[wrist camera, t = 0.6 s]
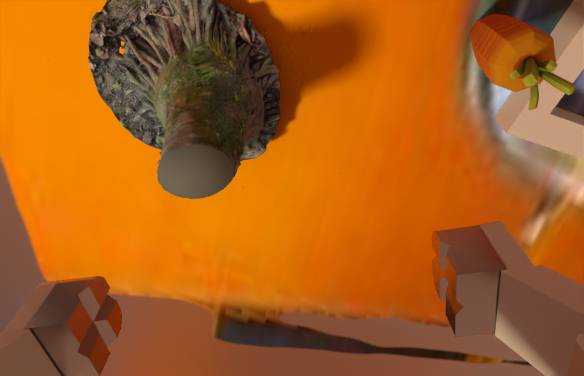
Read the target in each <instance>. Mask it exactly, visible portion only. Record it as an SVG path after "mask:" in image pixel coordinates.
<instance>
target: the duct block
mask: <svg viewBox="0 0 584 376" xmlns="http://www.w3.org/2000/svg"><path fill="white" fill-rule="evenodd" d="M550 36H551V37H552V38H553V40H554V49H555V57H556V63H557V64H558V65H557V67H556V69H555V70H554V71H553V72H551V73H553V74H555V75H557V76H559V77H561V78H563V79H565V80H567V81H569V82H571V83H573V82H574V81H575V80H576V78H577V77H578V76H579V74H580V73H581V72H582V70H583V69H584V0H573V1H572V3H571V4H570V6H569V7H568V9H567V10H566V12H565V13H564V15H563V16H562V18H561V19H560V21H559V22H558V24H557V25H556V27H555V28H554V30H553V31H552V33H551V34H550ZM538 90H539V101H538V106H537V108H536V109H534V110H528V109H529V103H530V88H527V89H524V90H521V91H519V92H514V91H512V92H511V93H510V95H509V96H508V98H507V99H506V101H505V102H504V104H503V105H502V107H501V108H500V110H499V111H498V113H497V114H496V116H495V117H494V118H495V120H496V121H497V122H498V124H499V125H500V126H501V127H502V129H503V130H504V131H505V132H506V133H507V134H510V135H513V136H516V137H519V138H522V139H525V140H528V141H531V142H534V143H537V144H540V145H543V146H546V147H549V148H552V149H555V150H558V151H561V152H564V153H567V154H570V155H573V156H576V157H579V158H582V159H584V117H583V116H580V115H578V114H575V113H572V112H569V111H566V110H563V109H561V108H558V107H555V106H556V105H557V104H558V102H559V101H560V100H561V98H562V97H563V96H564V94H565V93H563V92H561V91H560V90H558V89H556V88H555V87H553V86H552V85H551V84H549V83H548V82H546V81H545V80H544V79H543V81H542V82H541V83H540V84H538Z"/></svg>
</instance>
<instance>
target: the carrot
mask: <svg viewBox="0 0 584 376" xmlns="http://www.w3.org/2000/svg"><path fill="white" fill-rule="evenodd" d="M470 38H471V42H472V47H473V51H474V54H475V57H476V60H477V62H478V65H479V66H480V68H481V69H482V70H483V72H484V73H485V75H486V76H487V77H488V78H489V79H490V81H491V82H492V83H494V84H496V85H498V86H501V87H503V88H506V89H508V90H511V91H514V92H519V91H521V90H524V89H527V88H530V103H529V109H528V110H534V109H536V108H537V106H538V101H539V90H538V84H540V83H541V82H542V81H543V79H544V80H545V81H546V82H548V83H549V84H551V85H552V86H553V87H555V88H556V89H558V90H560V91H561V92H563V93H565V94H567V95H571V94H572V93H573V92H574V90H575V85H574V84H573V83H571V82H569V81H567V80H565V79H563V78H561V77H559V76H557V75H555V74H553V73H551V72H553V71H554V70H555V69H556V67H557V65H558V64H557V63H556V57H555V49H554V40H553V38H552V37H551V36H550V35H548V34H546V33H545V32H543V31H541V30H539V29H537V28H535V27H533V26H531V25H529V24H527V23H525V22H522V21H520V20H518V19H515V18H513V17H511V16H507V15H502V14H492V15H488V16H486V17H484V18H481V19H479V20H477V21H476V23H475V24H474V26H473V28H472V29H471V32H470Z"/></svg>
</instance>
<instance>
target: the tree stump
mask: <svg viewBox="0 0 584 376" xmlns="http://www.w3.org/2000/svg"><path fill="white" fill-rule="evenodd" d="M92 20H93V22H92V23H91V28H92V30H91V32H90V38H89V57H88V59H89V64H90V68H91V71H92V74H93V77H94V81H95V84H96V87H97V90H98V92H99V95H100V96H101V98H102V99H103V100H104V102H105V103H106V104H107V105H108V106H109V107H110V108H111V110H112V111H113V113H114V115H115V116H116V118H117V119H118V120H119V121H120V122H121V124H122V125H123V126H124V127H125V128H126V129H127V130H128V131H130V133H131V134H132V135H133V136H134V137H135V138H137V139H139V140H141V141H142V142H144V143H145V144H147V145H150V146H152V147H155V148H158V149H161V150H162V152H160V155H161V160H159V161H158V164H159V166H158V181H159V183H160V184H161V185H162V187H163V189H164V190H166V191H168V192H169V193H171V194H173V195H176V196H179V197H182V198H190V199H198V198H205V197H208V196H211V195H213V194H216V193H217V192H219V191H221V190H223V189H224V188H225V187H226V186H227V185H228V184H229V183H230V182H231V181H232V179H233V177H234V176H235V174H236V172H237V169H238V167H239V166H240V165H241V163H240V161H242V160H248V159H254V158H257V157H258V156H260V155H261V154H263V153H264V152H265V151H266V145H267V143H268V142H269V140H270V139H274V138H275V131H276V126H277V124H278V122H279V120H280V109H279V99H280V97H279V95H280V90H279V87H280V86H281V83H280V82H279V80H278V77H279V73H280V72H279V70H278V69H277V67H276V66H275V65H274V63H273V60H272V57H271V51H270V49H269V47H268V46H267V44H266V41H265V38H264V36H262V35H261V34H260V33H259V32H258V31H257V30H256V29H255V28H254V27H253V25H252V20H251V18H248V17H247V16H246V15H245V14H241V13H236V12H235V11H234V10H233V9H232V8H231V7H230V6H228V5H226V4H224V3H222V2H219V0H107V2H106V4H105V6H104V7H103V10H102V11H101V12H99V13H98V12H97V13H96V14H95V15H94V16H93V18H92ZM121 41H124V42H125V44H124V45H123V46H121ZM120 47H122V49H123V48H124V50H125V53H124V54H121V53H119V48H120Z"/></svg>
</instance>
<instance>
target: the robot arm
mask: <svg viewBox="0 0 584 376" xmlns="http://www.w3.org/2000/svg"><path fill="white" fill-rule="evenodd" d="M432 247H433V249H434V252H435V254H436V256H435V257H434V258H433V260H432V272H433V278H434V284H435V287H436V291H437V293H438V296H439V298H440V300H442V301H443V302H445V303H446V316H447V318H448V321H449V323H450V325H451V328H452V330H453V333H454V335H455V337H462V336H473V335H485V334H495V336H496V337H497V338H499V339H500V340H501V341H503V342H504V343H505V344H506V345H508V346H509V347H510V348H511V349H513V350H514V351H515V352H516V353H518V354H519V355H520V356H521V357H523V358H524V359H525V360H526V361H528V362H529V363H530V364H531V365H533V366H534V367H535V368H536V369H538V370H539V371H540V372H542V373H543V374H544V375H545V376H584V285H583V284H580V283H578V282H576V281H574V280H572V279H570V278H568V277H565V276H563V275H561V274H559V273H557V272H555V271H553V270H550V269H548V268H546V267H544V266H542V265H541V266H534V264H533V263H532V262H531V260H530V259H529V258H528V256H527V255H526V254H525V252H524V251H523V250H522V248H521V247H520V246H519V244H518V243H517V242H516V240H515V239H514V238H513V236H512V235H511V234H510V232H509V231H508V230H507V228H506V227H505V226H504V224H503V223H501V222H499V221H497V222H491V223H484V224H478V225H476V226H469V227H462V228H455V229H447V230H440V231H433V233H432ZM109 289H110V287H109V285H108V283H107V282H106V280H105V278H103V277H100V276H94V277H85V278H76V279H67V280H62V281H51V282H44V283H42V284H40V285H38V286H37V287H36V288H35V290H34V291H33V292H32V294H31V295H30V296H29V298H28V299H27V300H26V302H25V303H24V304H23V306H22V307H21V308H20V310H19V311H18V312H17V314H16V315H15V317H14V318H13V319H12V320H11V322H10V323H9V324H8V325H7V327H6V328H5V330H4V331H3V332H1V333H0V376H100V375H101V373H102V370H103V368H104V366H105V364H106V362H107V359H108V357H109V355H110V351H109V349H108V346H109V345H110V344H111V343H112V342H113V341H114V340H115V339H116V338H117V336H118V334H119V332H120V330H121V323H122V314H121V309H120V307H119V304H118V302H117V301H116V300H115V299H113V298H112V297H110V296H109V295H108V292H109Z"/></svg>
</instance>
